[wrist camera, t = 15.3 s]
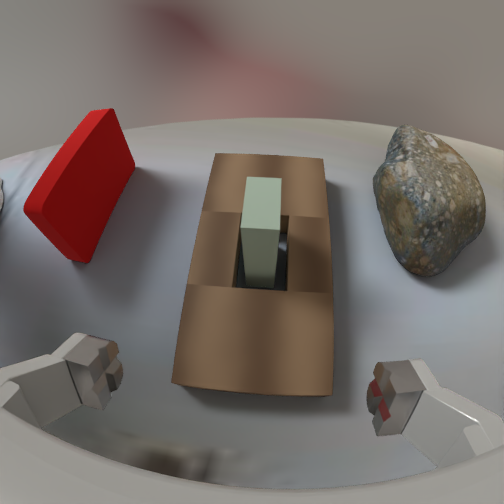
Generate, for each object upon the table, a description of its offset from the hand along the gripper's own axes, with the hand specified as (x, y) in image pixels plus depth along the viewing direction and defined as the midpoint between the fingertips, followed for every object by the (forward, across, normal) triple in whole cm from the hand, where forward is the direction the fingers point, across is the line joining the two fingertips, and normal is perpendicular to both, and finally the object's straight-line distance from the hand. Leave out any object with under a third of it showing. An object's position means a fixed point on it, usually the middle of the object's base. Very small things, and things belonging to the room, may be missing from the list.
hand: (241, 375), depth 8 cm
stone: (+26, -18, -3) cm, 32 cm away
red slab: (+24, +20, -1) cm, 31 cm away
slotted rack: (+20, 0, +3) cm, 20 cm away
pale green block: (+20, 0, +3) cm, 20 cm away
